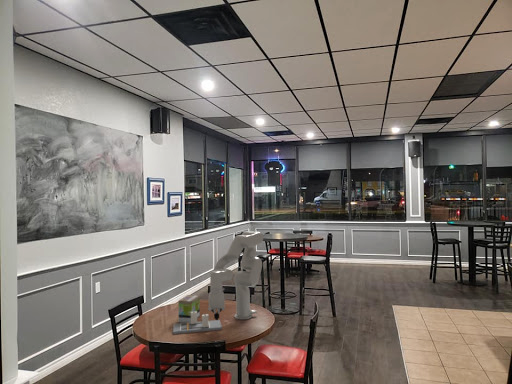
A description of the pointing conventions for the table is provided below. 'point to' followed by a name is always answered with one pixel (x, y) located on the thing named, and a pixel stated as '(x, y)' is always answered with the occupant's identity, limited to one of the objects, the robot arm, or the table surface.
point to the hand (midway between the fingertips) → (216, 319)
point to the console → (196, 327)
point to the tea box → (188, 308)
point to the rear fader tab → (194, 317)
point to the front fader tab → (205, 320)
